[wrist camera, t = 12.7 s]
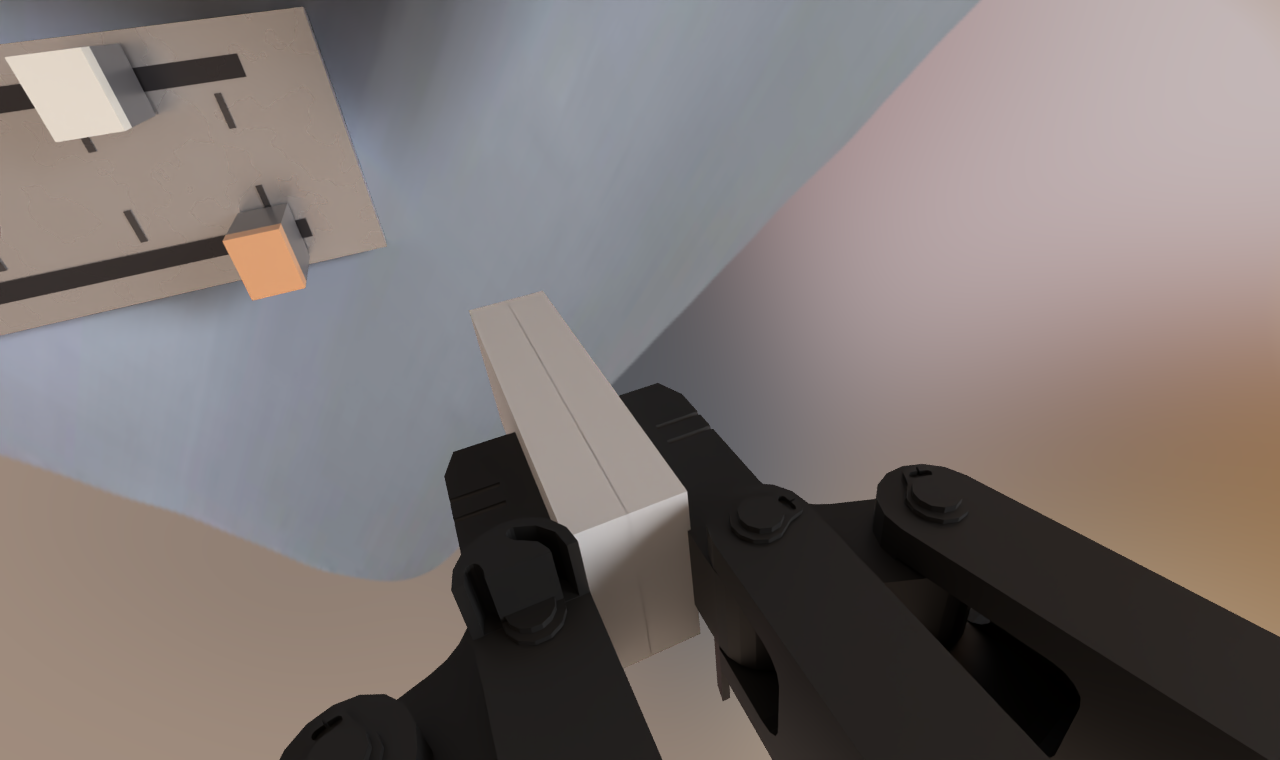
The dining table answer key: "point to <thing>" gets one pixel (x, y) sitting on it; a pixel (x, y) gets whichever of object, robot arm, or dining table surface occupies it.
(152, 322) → the dining table surface
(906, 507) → the robot arm
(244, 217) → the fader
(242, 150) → the console
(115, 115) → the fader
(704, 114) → the dining table surface
